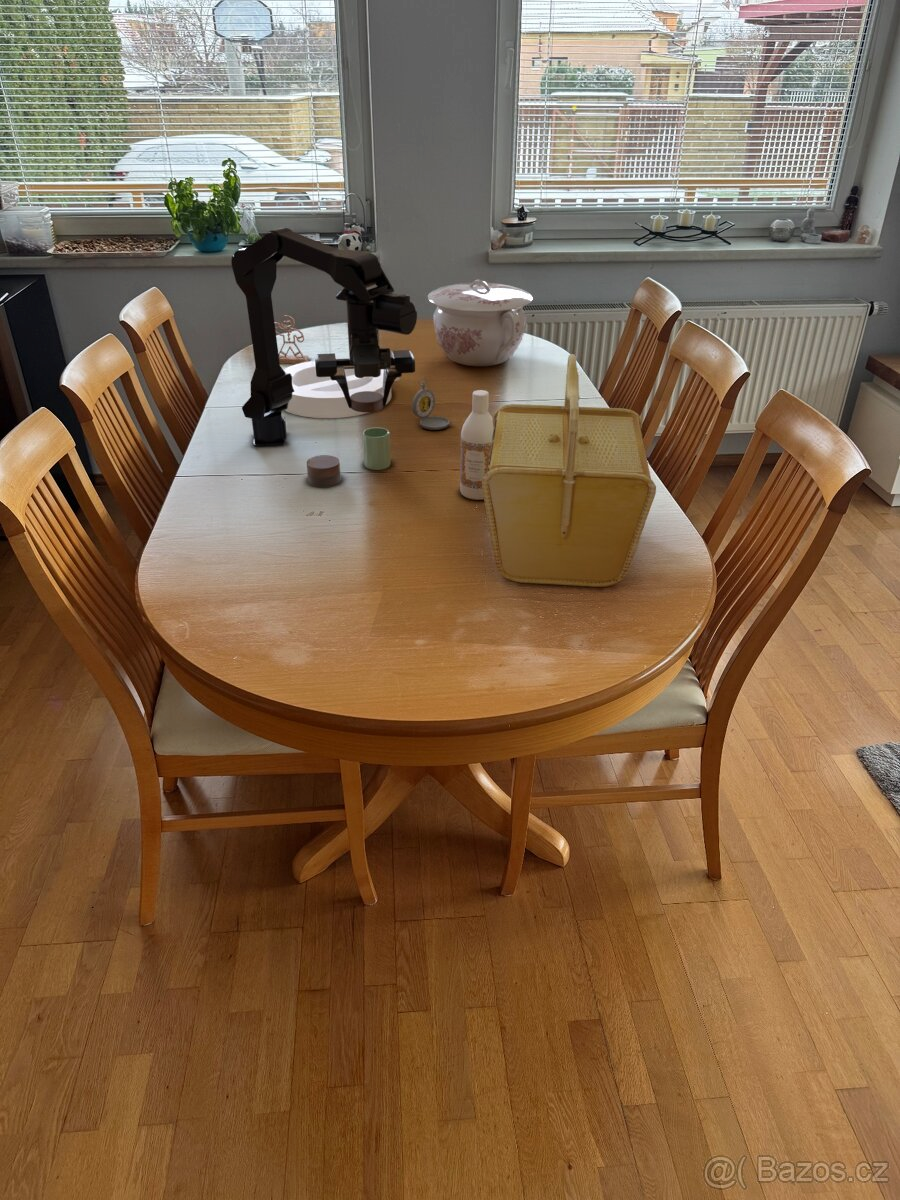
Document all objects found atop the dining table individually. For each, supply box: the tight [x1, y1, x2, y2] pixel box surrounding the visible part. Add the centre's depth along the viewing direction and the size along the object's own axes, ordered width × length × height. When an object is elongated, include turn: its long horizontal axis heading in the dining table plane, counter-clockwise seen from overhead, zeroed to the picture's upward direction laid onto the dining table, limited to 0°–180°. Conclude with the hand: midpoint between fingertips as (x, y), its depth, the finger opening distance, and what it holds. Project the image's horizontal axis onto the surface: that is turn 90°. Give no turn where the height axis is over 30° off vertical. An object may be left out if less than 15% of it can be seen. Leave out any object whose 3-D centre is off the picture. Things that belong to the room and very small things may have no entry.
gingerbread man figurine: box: [274, 314, 310, 365], centre depth 232 cm, size 9×4×12 cm, turn 85°
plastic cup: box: [362, 427, 391, 471], centre depth 178 cm, size 5×5×7 cm
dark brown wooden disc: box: [350, 391, 384, 413], centre depth 171 cm, size 6×6×2 cm
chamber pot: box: [427, 279, 534, 368], centre depth 232 cm, size 28×28×21 cm
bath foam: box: [459, 389, 494, 501], centre depth 164 cm, size 7×7×20 cm
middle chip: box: [306, 454, 341, 478], centre depth 172 cm, size 6×6×2 cm
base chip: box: [307, 471, 342, 488], centre depth 173 cm, size 6×6×2 cm
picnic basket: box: [482, 353, 657, 588], centre depth 143 cm, size 29×26×30 cm
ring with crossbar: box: [282, 360, 401, 419], centre depth 212 cm, size 28×28×5 cm
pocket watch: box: [411, 377, 450, 431], centre depth 196 cm, size 8×8×10 cm
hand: (366, 406), depth 172 cm, fingers closed on dark brown wooden disc, 6 cm apart
